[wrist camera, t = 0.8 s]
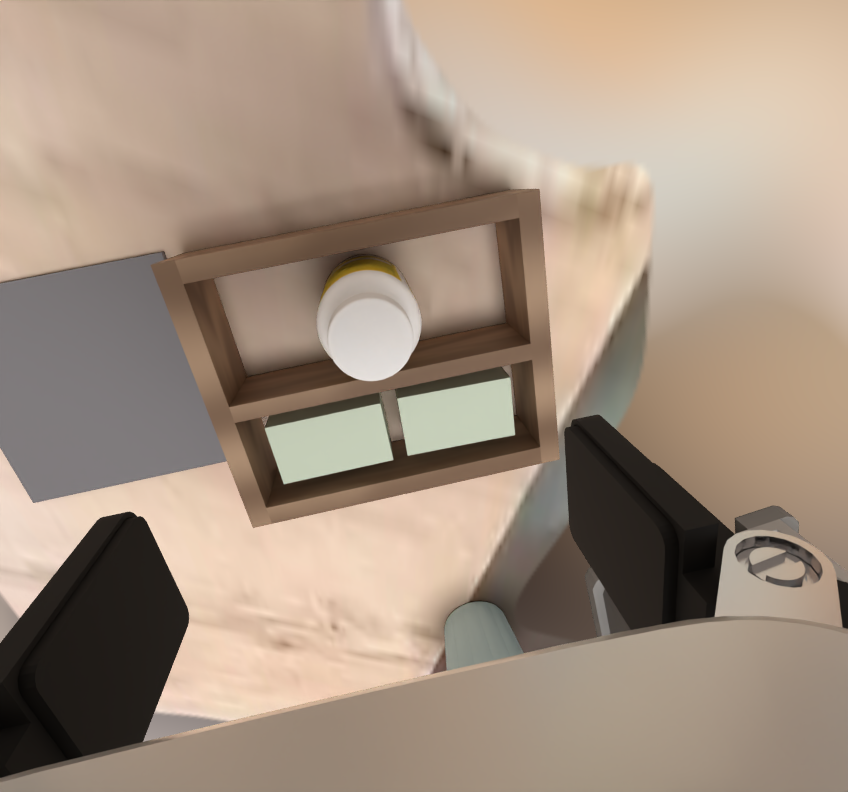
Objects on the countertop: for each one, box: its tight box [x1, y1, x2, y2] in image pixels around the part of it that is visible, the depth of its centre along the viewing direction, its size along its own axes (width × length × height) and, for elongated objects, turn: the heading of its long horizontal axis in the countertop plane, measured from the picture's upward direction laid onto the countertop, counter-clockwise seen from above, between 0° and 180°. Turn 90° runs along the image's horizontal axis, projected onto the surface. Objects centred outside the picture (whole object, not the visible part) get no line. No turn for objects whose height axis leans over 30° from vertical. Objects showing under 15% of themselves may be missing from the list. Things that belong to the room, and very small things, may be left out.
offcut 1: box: [265, 392, 393, 484], centre depth 32 cm, size 4×7×4 cm, turn 100°
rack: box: [151, 189, 560, 528], centre depth 30 cm, size 16×20×5 cm
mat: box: [0, 252, 227, 503], centre depth 31 cm, size 14×14×1 cm
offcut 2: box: [395, 366, 515, 456], centre depth 33 cm, size 4×7×4 cm, turn 99°
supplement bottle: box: [317, 255, 422, 381], centre depth 27 cm, size 5×5×10 cm
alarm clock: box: [585, 506, 848, 637], centre depth 37 cm, size 18×13×18 cm
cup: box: [444, 601, 523, 671], centre depth 39 cm, size 8×8×10 cm
